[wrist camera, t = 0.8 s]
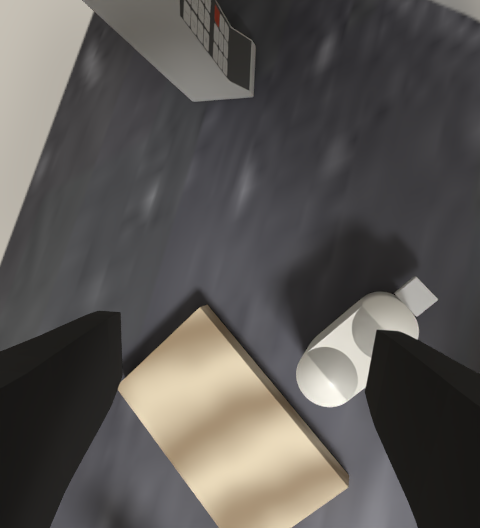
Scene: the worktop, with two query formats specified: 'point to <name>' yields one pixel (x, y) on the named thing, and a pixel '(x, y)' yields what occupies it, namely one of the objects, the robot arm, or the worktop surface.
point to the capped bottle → (357, 342)
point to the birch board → (230, 429)
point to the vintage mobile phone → (186, 44)
